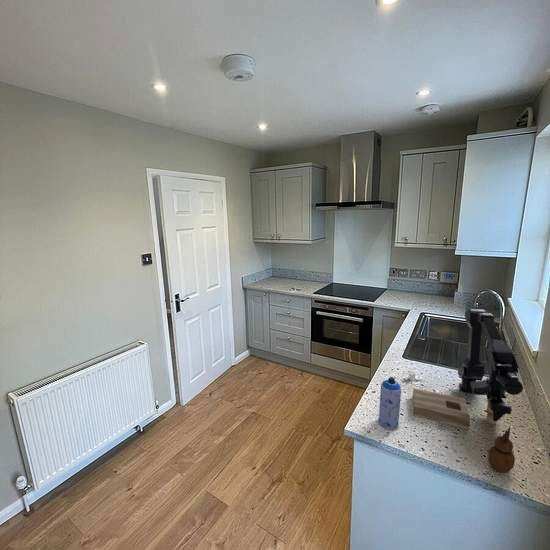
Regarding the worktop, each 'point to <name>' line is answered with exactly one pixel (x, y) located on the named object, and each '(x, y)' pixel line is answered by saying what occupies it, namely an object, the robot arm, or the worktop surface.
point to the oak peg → (490, 414)
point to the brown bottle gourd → (502, 454)
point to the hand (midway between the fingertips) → (492, 414)
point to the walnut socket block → (440, 408)
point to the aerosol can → (389, 404)
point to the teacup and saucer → (414, 377)
